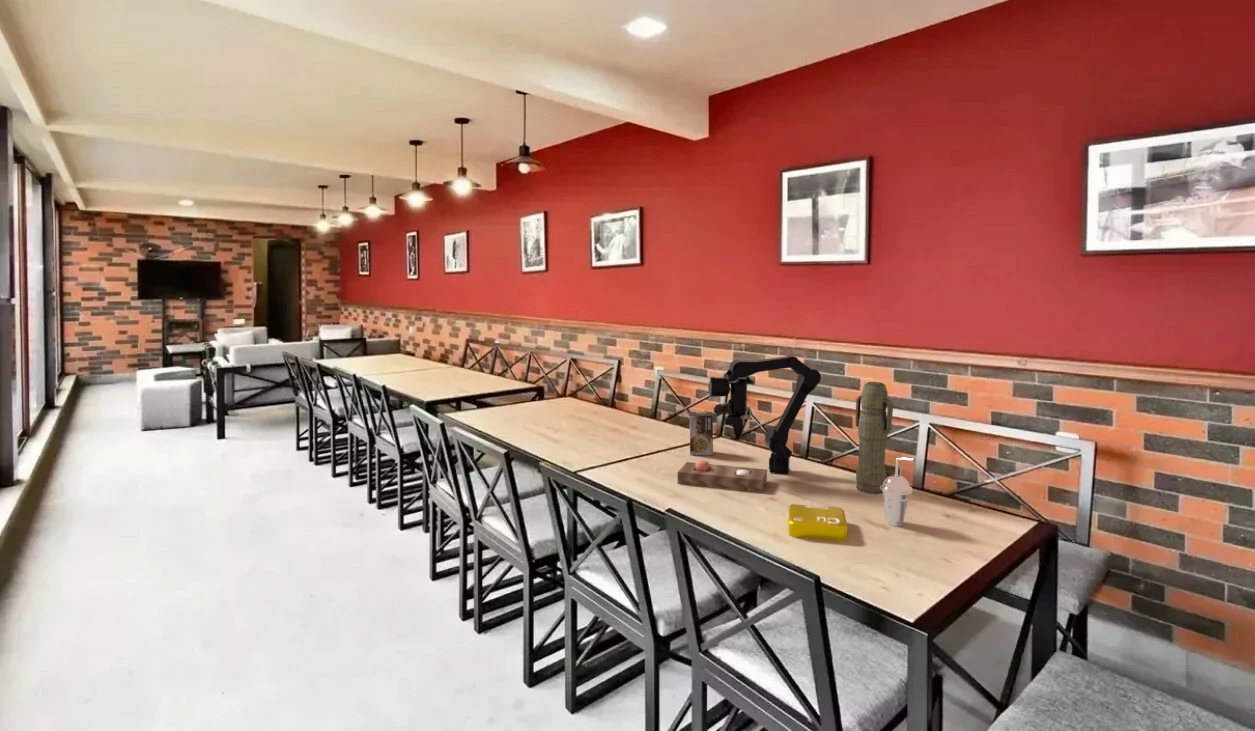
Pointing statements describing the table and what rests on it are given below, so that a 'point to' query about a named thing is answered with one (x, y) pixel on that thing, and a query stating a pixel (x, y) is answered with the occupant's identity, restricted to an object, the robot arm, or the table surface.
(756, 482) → the pin block
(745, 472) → the pin
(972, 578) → the table surface
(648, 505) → the table surface
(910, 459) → the cup with straw
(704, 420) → the coffee box
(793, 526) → the element tile
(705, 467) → the pink rounded block
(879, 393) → the thermos
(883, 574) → the table surface
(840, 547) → the table surface
